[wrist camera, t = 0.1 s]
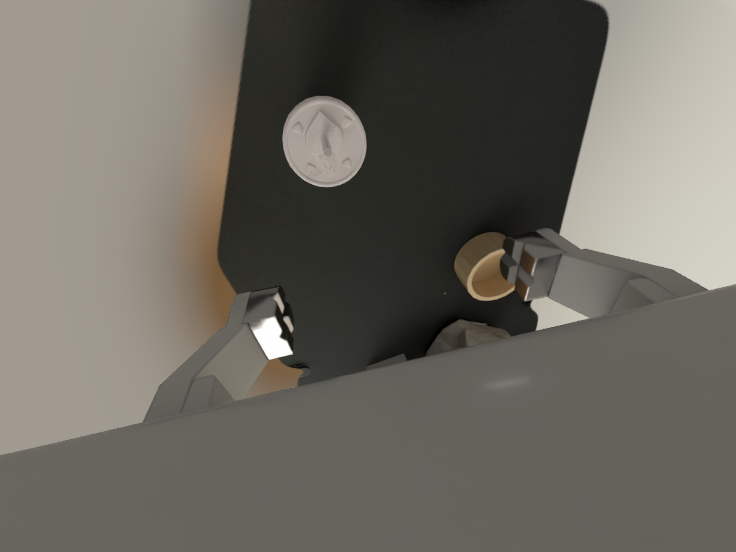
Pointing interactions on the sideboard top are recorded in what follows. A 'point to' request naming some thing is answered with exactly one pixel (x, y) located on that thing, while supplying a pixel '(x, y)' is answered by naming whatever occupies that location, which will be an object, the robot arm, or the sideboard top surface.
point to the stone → (464, 336)
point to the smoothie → (324, 141)
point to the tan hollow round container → (483, 267)
